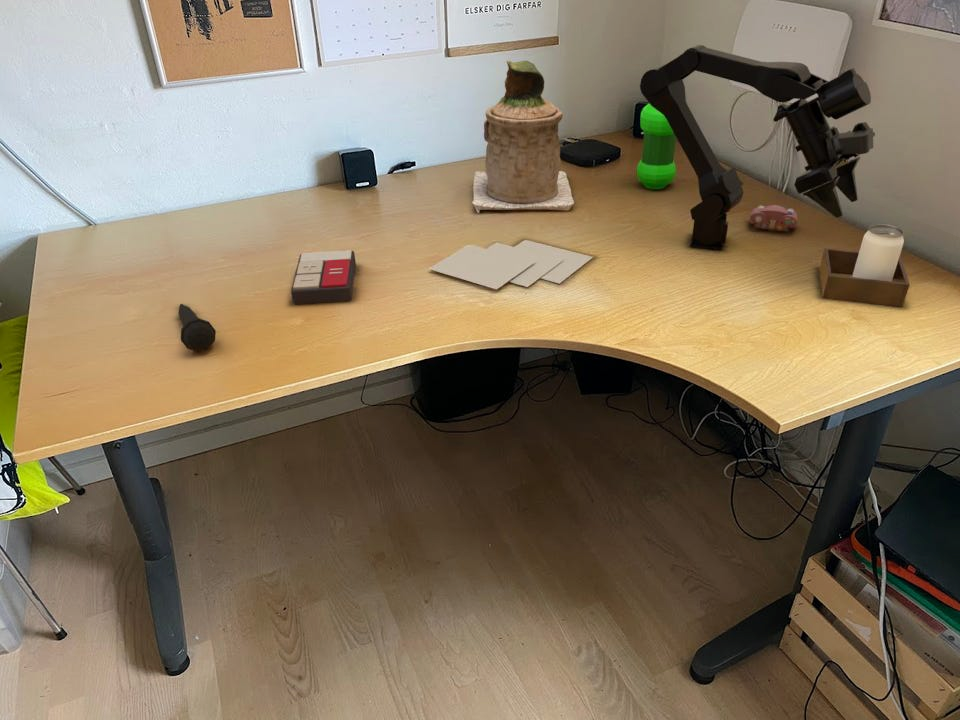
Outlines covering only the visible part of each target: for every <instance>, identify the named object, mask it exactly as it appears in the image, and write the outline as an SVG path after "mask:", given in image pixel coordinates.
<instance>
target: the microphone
mask: <svg viewBox="0 0 960 720" xmlns="http://www.w3.org/2000/svg"><path fill="white" fill-rule="evenodd" d="M178 316H179V320H180V322H181V325H182V328H181V329H180V342H182V344H183V345H184V347H185V348H186V349H187V350H190V351H194V352H202V351H204V350H208V349H210V347H211V346H212V345H213V344H214V342H216V336H217V335H216V334H217V331H216V329H215V328H214V326H213V325H212V324H211V322H210V321H209V320H205V319H203V318H199V317H198V316H197V314H196V313H195V312H194V311H193V310H192V308H191V307H190V306H188V305H185V304H183V303H180V304H179V308H178Z"/></svg>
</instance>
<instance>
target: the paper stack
mask: <svg viewBox="0 0 960 720" xmlns="http://www.w3.org/2000/svg"><path fill="white" fill-rule="evenodd" d="M592 259H594V256H591V255H587V254H583V253H579V252H575V251H571V250H568V249H563V248H559V247H555V246H552V245H548V244H544V243H540V242H537V241H533V240H529V239H524V240H523V241H521V242H519V243H517V244H516V245H515V246H513V245H512V246H511V245H509V244H505V243H502V242H501V243H500V242H495V243H493V244H491V245H490V246H488V247H487V248H485V247H481V246H477V245H474V244H470V243H469V244H467V245H465V246H464V247H462V248H460V249H458V250H456V251H455V252H453V253H452V254H450V255H449V256H447V257H445V258H444V259H441V260H440V261H438V262H437V263H435V264H434V265H432V266H430V267H429V268H428V270H431V271H434V272H437V273H441V274H444V275H446V276H450V277H454V278H457V279H461V280H464V281H467V282H470V283H474V284H478V285H480V286H483V287H487V288H489V289H493V290H498V289H500V288H501V287H502V286H504V285H505V284H507V283H508V282H509V283H512V284H514V285H518V286H522V287H526V288H528V287H530V286H531V285H532V284H534V283H535V282H537V281H538V280H539V279H541V280H545V281H548V282H552V283H556V284H561V283H562V282H564V281H565V280H567V279H568V278H569V277H570V276H571V275H572V274H574V273H575V272H577V271H578V270H580V268H582V267H583V266H584V265H586V264H587V263H588V262H590V261H591V260H592Z"/></svg>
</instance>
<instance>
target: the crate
mask: <svg viewBox="0 0 960 720" xmlns="http://www.w3.org/2000/svg"><path fill="white" fill-rule="evenodd" d="M858 254H859V250H857V251H856V250H849V249H848V250H847V249H846V250H845V249H837V248H828V247H825V248H824V249H823V253H822V257H821V261H820V264H819V269H818V271H819V279H820V288H821V297H822V298H825V299H829V300H830V299H831V300H839V301H847V302H856V303H863V304H864V303H865V304H873V305H881V306H889V307H897V308H898V307H899V308H903V307H904V303H905V300H906V298H907V294H908V291H909V289H910V282H909V278H908V275H907V272H906V269H905V266H904V263H903V259H902V257H901V256H900V257H899V260H898V263H897V266H896V269H895V272H894V275H893V279H892V281H883V280H874V279H865V278H855V277H852V276H846V275H837V274H836V275H835V274H832V272H833V273H840V274H841V273H842V274H850V275H853V272H854V268H855V265H856V261H857V258H858Z"/></svg>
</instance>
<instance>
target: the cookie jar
mask: <svg viewBox="0 0 960 720" xmlns="http://www.w3.org/2000/svg"><path fill="white" fill-rule="evenodd" d="M506 64H507V68H508V70H507V71H506V77H505V80H504V81H503V83H504V88H505V92H504V96H502V97H501V98H500V100H499V101H498V102H497V103H496V104H495V105H492V106H489V107H487V109H486V111H485V118H486V119H485V120H484V122H483V130H484V132H483V139H484V142H486V143H487V144H486V149H485V160H484V161H485V162H484V164H485V165H484V167H485V171H475V173H474V177H473V185H472V186H473V188H472V191H473V199H472V201H471V203H472V206H473V207H474V208H475V210H476V213H477V214H479V213H480V211H481V210H490V211H491V210H492V211H493V210H494V211H506V210H507V211H510V210H514V211H515V210H551V211H566V212H568V211H570V210H571V208H572V207H573V206H574V204H575V200H574V198H573V196H572V188H571V187H570V186H571V185H570V184H569V183H570V182H569V179H568V177H567V172H565V171H563V170H561V165H562V161H561V157H560V156H561V146H560V138H559V123H560V122H561V121H562V119H563V112H562V111H561V110H560V108H559V107H558V106H555V105H554V104H553V103H552V102H550V101H549V100H547V99H544V98H543V97H542V95H543V92H544V90H545V78H544V75H542V73H541V71H539V70H538V68H537V67H536V65H535V64H534V63H533V62H531V61H529V60H522V61H521V60H520V61H515V62H513V61H511V60H510V59H508V60H506Z"/></svg>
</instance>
